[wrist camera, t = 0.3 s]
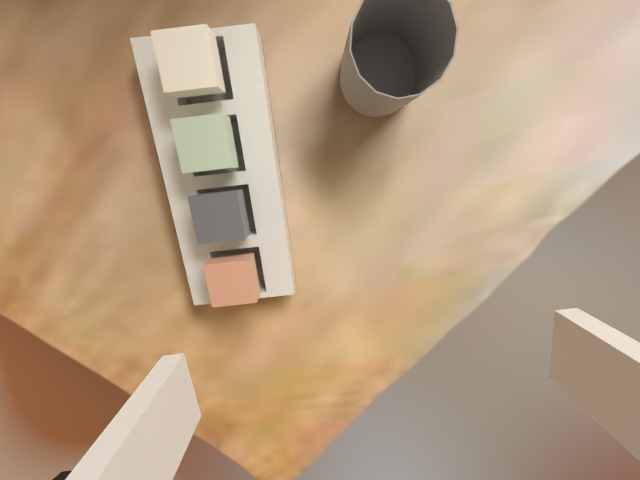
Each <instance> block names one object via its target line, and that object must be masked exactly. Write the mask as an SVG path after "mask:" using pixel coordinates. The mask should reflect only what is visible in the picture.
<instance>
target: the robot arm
mask: <svg viewBox="0 0 640 480" xmlns="http://www.w3.org/2000/svg"><path fill="white" fill-rule="evenodd" d="M549 378H550V379H551V380H552V381H554V382H555V383H556V384H557V385H558V386H559V387H560V388H561V389H562V390H563V391H565V392H566V393H567V394H568V395H569V396H570V397H571V398H572V399H573V400H574V401H575V402H576V403H577V404H579V405H580V406H581V407H582V408H583V409H584V410H585V411H586V412H587V413H588V414H589V415H591V416H592V417H593V418H594V419H595V420H596V421H597V422H598V423H599V424H600V425H601V426H602V427H604V428H605V429H606V430H607V431H608V432H609V433H610V434H611V435H612V436H613V437H615V438H616V439H617V440H618V441H619V442H620V443H621V444H622V445H623V446H624V447H625V448H627V449H628V450H629V451H630V452H631V453H632V454H633V455H634V456H635V457H636V458H637V459H639V461H640V343H639V342H637V341H635V340H634V339H632V338H630V337H628V336H626V335H625V334H623V333H621V332H619V331H617V330H615V329H614V328H612V327H610V326H608V325H607V324H605V323H603V322H601V321H599V320H598V319H596V318H594V317H592V316H590V315H589V314H587V313H585V312H583V311H581V310H580V309H578V308H573V309H564V310H556V311H555V315H554V325H553V336H552V347H551V357H550V369H549ZM200 418H201V413H200V410H199V406H198V402H197V399H196V395H195V391H194V388H193V384H192V381H191V377H190V373H189V370H188V366H187V362H186V359H185V355H184V353H183V354H174V355H166V356H162V357H161V359H160V360H159V361H158V363H157V364H156V365H155V366H154V368H153V369H152V370H151V371H150V373H149V374H148V375H147V377H146V378H145V379H144V380H143V382H142V383H141V384H140V385H139V387H138V388H137V389H136V390H135V392H134V393H133V394H132V396H131V397H130V398H129V399H128V401H127V402H126V403H125V405H124V406H123V407H122V408H121V409H120V411H119V412H118V413H117V415H116V416H115V417H114V418H113V420H112V421H111V422H110V423H109V425H108V426H107V427H106V429H105V430H104V431H103V433H102V434H101V435H100V436H99V437H98V439H97V440H96V441H95V442H94V444H93V445H92V446H91V448H90V449H89V450H88V451H87V453H86V454H85V455H84V457H83V458H82V459H81V460H80V461H79V463H78V464H77V465H76V466H75V468H74V469H73V470H72V471H65V472H61V473H60V474H59V475H58V476H57V477H55V478H54V479H53V480H173V477H174V475H175V473H176V471H177V469H178V466H179V464H180V462H181V460H182V458H183V455H184V453H185V451H186V449H187V446H188V444H189V442H190V440H191V437H192V435H193V433H194V431H195V429H196V427H197V424H198V422H199V420H200Z"/></svg>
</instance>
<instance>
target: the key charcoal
mask: <svg viewBox="0 0 640 480" xmlns="http://www.w3.org/2000/svg"><path fill="white" fill-rule="evenodd" d="M187 198H188V202H189V207H190V211H191V216H192V220H193V225H194V229H195V234H196V238H197V243H198V244H207V243H216V242H225V241H234V240H243V239H246V238H247V237H248V236H249V235H250V229H249V221H248V215H247V209H246V204H245V198H244V192H243V189H239V190H230V191H221V192H213V193H204V194H196V195H192V196H188V197H187Z"/></svg>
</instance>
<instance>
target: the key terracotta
mask: <svg viewBox="0 0 640 480" xmlns="http://www.w3.org/2000/svg"><path fill="white" fill-rule="evenodd" d="M203 269H204V274H205V278H206V283H207V287H208V292H209V296H210V301H211V305H212V308H214V307H223V306H232V305H241V304H251V303H257V301H258V299H259V297H260V294H261V292H260V286H259V285H260V284H259V278H258V272H257V267H256V261H255V255H254V253H245V254H236V255H227V256H220V257H217V258H210V259H209V260H208V261H207V262H206V263H204V264H203Z"/></svg>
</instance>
